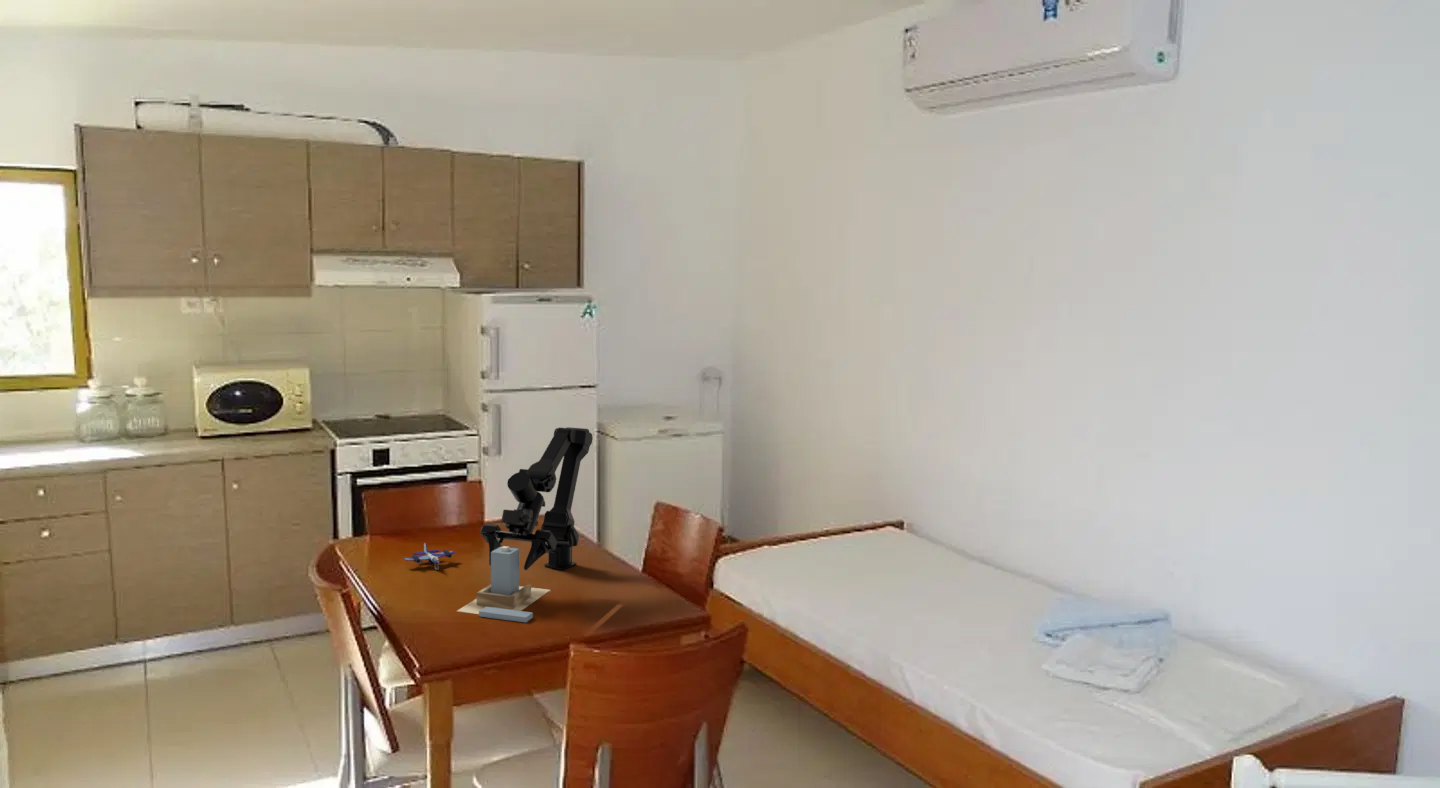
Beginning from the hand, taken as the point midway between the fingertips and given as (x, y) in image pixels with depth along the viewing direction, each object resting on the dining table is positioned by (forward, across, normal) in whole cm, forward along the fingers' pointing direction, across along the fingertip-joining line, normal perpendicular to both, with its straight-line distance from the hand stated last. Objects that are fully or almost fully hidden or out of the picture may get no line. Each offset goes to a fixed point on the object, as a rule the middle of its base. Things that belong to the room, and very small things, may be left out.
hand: (507, 567), depth 252 cm
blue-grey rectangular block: (+7, 0, +4) cm, 8 cm away
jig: (+7, 0, +5) cm, 9 cm away
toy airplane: (-7, -32, +20) cm, 38 cm away
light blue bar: (+14, +6, -3) cm, 15 cm away
